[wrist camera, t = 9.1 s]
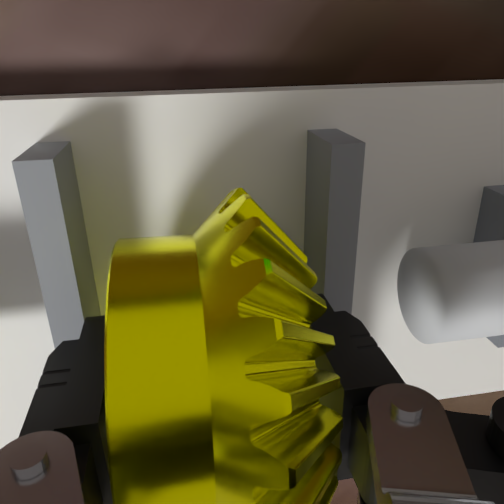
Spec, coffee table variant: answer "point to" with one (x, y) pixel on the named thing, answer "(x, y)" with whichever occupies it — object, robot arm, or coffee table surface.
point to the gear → (217, 367)
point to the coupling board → (272, 202)
